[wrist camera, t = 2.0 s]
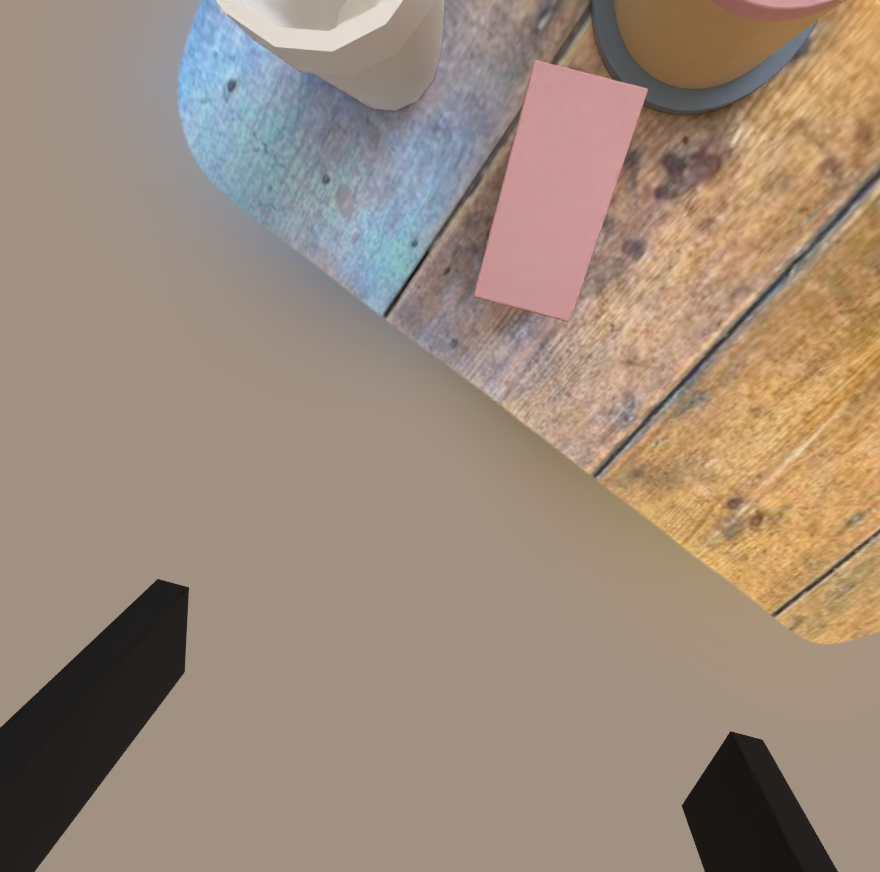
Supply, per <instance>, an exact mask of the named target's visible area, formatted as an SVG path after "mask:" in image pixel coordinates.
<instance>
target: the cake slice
mask: <svg viewBox="0 0 880 872" xmlns="http://www.w3.org/2000/svg"><path fill="white" fill-rule="evenodd" d="M647 92H648V89H647V88H643V87H640V86H636V85H632V84H628V83H624V82H620V81H616V80H612V79H608V78H604V77H600V76H597V75H593V74H589V73H585V72H581V71H577V70H573V69H569V68H565V67H561V66H557V65H553V64H550V63H546V62H542V61H538V60H535V61H534V63H533V67H532V71H531V75H530V79H529V82H528V86H527V90H526V94H525V98H524V102H523V106H522V109H521V113H520V117H519V121H518V125H517V129H516V133H515V136H514V140H513V144H512V148H511V152H510V156H509V160H508V163H507V167H506V171H505V175H504V179H503V183H502V187H501V190H500V194H499V198H498V202H497V206H496V210H495V214H494V217H493V221H492V225H491V229H490V233H489V237H488V241H487V244H486V248H485V252H484V256H483V260H482V264H481V268H480V271H479V275H478V279H477V283H476V287H475V291H474V295H473V296H474V297H476V298H480V299H483V300H487V301H491V302H495V303H499V304H503V305H506V306H510V307H514V308H518V309H522V310H525V311H529V312H533V313H537V314H541V315H544V316H548V317H552V318H556V319H560V320H563V321H567V322H569V321H570V320H571V317H572V314H573V311H574V308H575V305H576V302H577V299H578V296H579V293H580V290H581V287H582V284H583V281H584V278H585V275H586V272H587V270H588V267H589V264H590V261H591V258H592V255H593V252H594V249H595V246H596V243H597V240H598V237H599V234H600V231H601V228H602V225H603V222H604V219H605V216H606V213H607V210H608V207H609V204H610V201H611V198H612V196H613V193H614V190H615V187H616V184H617V181H618V178H619V175H620V172H621V169H622V166H623V163H624V160H625V157H626V154H627V151H628V148H629V145H630V142H631V139H632V136H633V133H634V130H635V127H636V124H637V122H638V119H639V116H640V113H641V110H642V107H643V104H644V101H645V98H646V95H647Z"/></svg>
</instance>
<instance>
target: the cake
mask: <svg viewBox="0 0 880 872" xmlns="http://www.w3.org/2000/svg"><path fill="white" fill-rule="evenodd" d="M843 1H845V0H591V12H592V24H593V30H594V35H595V39H596V43H597V46H598V49H599V53H600V55H601V57H602V59H603V62H604V64H605V66H606V68H607V69H608V71H609V72H610V74H611V76H612V77H613V79H614V80H616V81H620V82H624V83H628V84H632V85H636V86H640V87H643V88H647V89H648V92H647V95H646V98H645V101H644V104H643V105H645V106H647V107H650V108H652V109H654V110H657V111H661V112H665V113H670V114H681V115H689V114H700V113H705V112H709V111H714V110H717V109H720V108H722V107H725V106H728V105H730V104H732V103H734V102H736V101H738V100H740V99H742V98H744V97H745V96H747V95H748V94H750V93H751V92H753V91H755V90H756V89H758V88H759V87H761V86H762V85H764V84H765V83H766V82H767V81H769V80H770V79H771V78H772V77H773V76H775V75H776V74H777V73H778V72H779V71H780V70H781V69H782V68H783V67H784V66H785V65H786V64H787V63H788V62H789V61H790V60H791V59H792V58H793V56H794V55H795V54H796V53H797V52H798V50H799V49H800V48H801V47H802V45H803V44H804V43H805V41H806V40H807V38H808V37H809V35H810V33H811V32H812V30H813V29H814V27H815V25H816V24H817V22H818V20H819V19H820V18H822V17H823V16H824V15H826V14H827V13H828V12H830V11H831V10H832V9H834V8H835V7H836V6H838V5H839V4H840V3H842V2H843Z"/></svg>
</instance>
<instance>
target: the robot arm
mask: <svg viewBox="0 0 880 872" xmlns="http://www.w3.org/2000/svg"><path fill="white" fill-rule="evenodd" d="M188 593H189V587H185V586H181V585H178V584H174V583H170V582H166V581H163V580H159V579H158V580H156V581H155V582H154V583H153V584H152V585H151V586H150V587H149V588H148V589H147V590H146V591H145V592H144V593H143V594H142V595H140V597H138V598H137V599H136V600H135V601H134V602H133V603H132V604H131V605H130V606H129V607H128V608H127V609H126V610H125V611H124V612H122V613H121V614H120V615H119V616H118V617H117V618H116V619H115V620H114V621H113V622H112V623H111V624H110V625H109V626H108V627H107V628H106V629H104V630H103V631H102V632H101V633H100V634H99V635H98V636H97V637H96V638H95V639H94V640H93V641H92V642H91V643H90V644H89V645H88V646H86V647H85V648H84V649H83V650H82V651H81V652H80V653H79V654H78V655H77V656H76V657H75V658H74V659H73V660H72V661H71V662H70V663H68V664H67V665H66V666H65V667H64V668H63V669H62V670H61V671H60V672H59V673H58V674H57V675H56V676H55V677H54V678H53V679H52V680H51V681H49V682H48V683H47V684H46V685H45V686H44V687H43V688H42V689H41V690H40V691H39V692H38V693H37V694H36V695H35V696H34V697H32V698H31V699H30V700H29V701H28V702H27V703H26V704H25V705H24V706H23V707H22V708H21V709H20V710H19V711H18V712H17V713H15V714H14V715H13V716H12V717H11V718H10V719H9V720H8V721H7V722H6V723H5V724H4V725H3V726H2V727H1V728H0V872H35V870H36V869H37V868H38V866H39V865H40V864H41V862H42V861H43V860H44V858H45V857H46V856H47V854H48V853H49V852H50V850H51V849H52V848H53V846H54V845H55V844H56V842H57V841H58V840H59V838H60V837H61V836H62V834H63V833H64V832H65V830H66V829H67V828H68V827H69V825H70V824H71V822H72V821H73V820H74V818H75V817H76V816H77V815H78V813H79V812H80V811H81V809H82V808H83V807H84V805H85V804H86V802H87V801H88V800H89V799H90V797H91V796H92V794H93V793H94V792H95V791H96V789H97V788H98V786H99V785H100V784H101V783H102V781H103V780H104V779H105V777H106V775H108V773H109V772H110V771H111V769H112V768H113V767H114V765H115V764H116V763H117V761H118V760H119V759H120V757H121V756H122V755H123V753H124V752H125V751H126V749H127V748H128V747H129V745H130V744H131V743H132V741H133V740H134V739H135V737H136V736H137V735H138V733H139V732H140V730H141V729H142V728H143V727H144V725H145V724H146V723H147V721H148V720H149V719H150V717H151V716H152V715H153V714H154V712H155V711H156V710H157V708H158V707H159V705H160V704H161V703H162V701H163V700H164V699H165V698H166V696H167V695H168V694H169V692H170V691H171V690H172V688H173V687H174V686H175V684H176V683H177V682H178V680H179V679H180V678H181V676H182V675H183V674H184V672H185V653H186V633H187V613H188ZM682 808H683V811H684V813H685V816H686V819H687V822H688V825H689V828H690V831H691V833H692V836H693V839H694V842H695V845H696V848H697V851H698V853H699V856H700V859H701V862H702V865H703V867H704V870H705V872H838V871H837V869H836V868H835V866H834V865H833V862H832V861H831V859H830V857H829V855H828V854H827V852H826V850H825V849H824V847H823V845H822V843H821V841H820V840H819V838H818V836H817V835H816V833H815V831H814V829H813V827H812V826H811V824H810V822H809V820H808V819H807V817H806V815H805V813H804V812H803V810H802V808H801V806H800V805H799V803H798V801H797V799H796V798H795V796H794V794H793V792H792V791H791V789H790V787H789V785H788V784H787V782H786V780H785V778H784V776H783V775H782V773H781V771H780V770H779V768H778V766H777V764H776V762H775V761H774V759H773V757H772V755H771V754H770V752H769V750H768V748H767V747H766V745H765V743H764V741H763V740H761V739H757V738H753V737H750V736H746V735H742V734H738V733H735V732H731V731H730V733H729V735H728V736H727V738H726V739H725V741H724V742H723V744H722V745H721V747H720V748H719V750H718V752H717V753H716V754H715V756H714V758H713V759H712V761H711V762H710V764H709V765H708V767H707V768H706V770H705V771H704V773H703V774H702V776H701V777H700V779H699V780H698V782H697V783H696V785H695V786H694V788H693V789H692V791H691V792H690V794H689V795H688V797H687V799H686V800H685V802H684V803H683V805H682Z"/></svg>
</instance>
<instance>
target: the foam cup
mask: <svg viewBox="0 0 880 872" xmlns="http://www.w3.org/2000/svg"><path fill="white" fill-rule="evenodd" d="M216 1H217V2H218V4H219V5H220V7H221V9H222V10H223V12H224V13H226V14H227V15H228V16H229V17H230V18H231V19H232V20H233V21H234V22H235V23H236V24H237V25H238V26H239V27H240V28H242V29H243V30H244V31H245V32H246V33H247V34H248V35H249V36H250V37H251V38H252V39H253V40H254V41H256V42H257V43H259V44H260V45H262V46H263V47H265V48H266V49H268V50H269V51H271V52H272V53H273V54H275V55H276V56H278V57H279V58H281V59H282V60H284V61H285V62H287V63H288V64H290V65H291V66H293V67H294V68H295V69H297V70H298V71H300V72H310V73H313V74H315V75H317V76H318V77H320V78H322V79H323V80H325V81H327V82H328V83H330V84H332V85H333V86H335V87H337V88H338V89H340V90H342V91H343V92H345V93H347V94H348V95H350V96H352V97H353V98H355V99H357V100H358V101H360V102H362V103H363V104H365V105H367V106H368V107H371V108H372V109H380V110H391V111H397V110H399V109H401V108H403V107H405V106H407V105H409V104H412V103H414V102H416V101H418V99H419V98H420V97H421V95H422V94H423V93H424V92H425V90H426V89H427V88H428V87H429V85H430V84H431V83H432V81H433V80H434V77H435V73H436V70H437V66H438V62H439V59H440V55H441V49H442V37H443V20H444V3H445V0H216Z"/></svg>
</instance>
